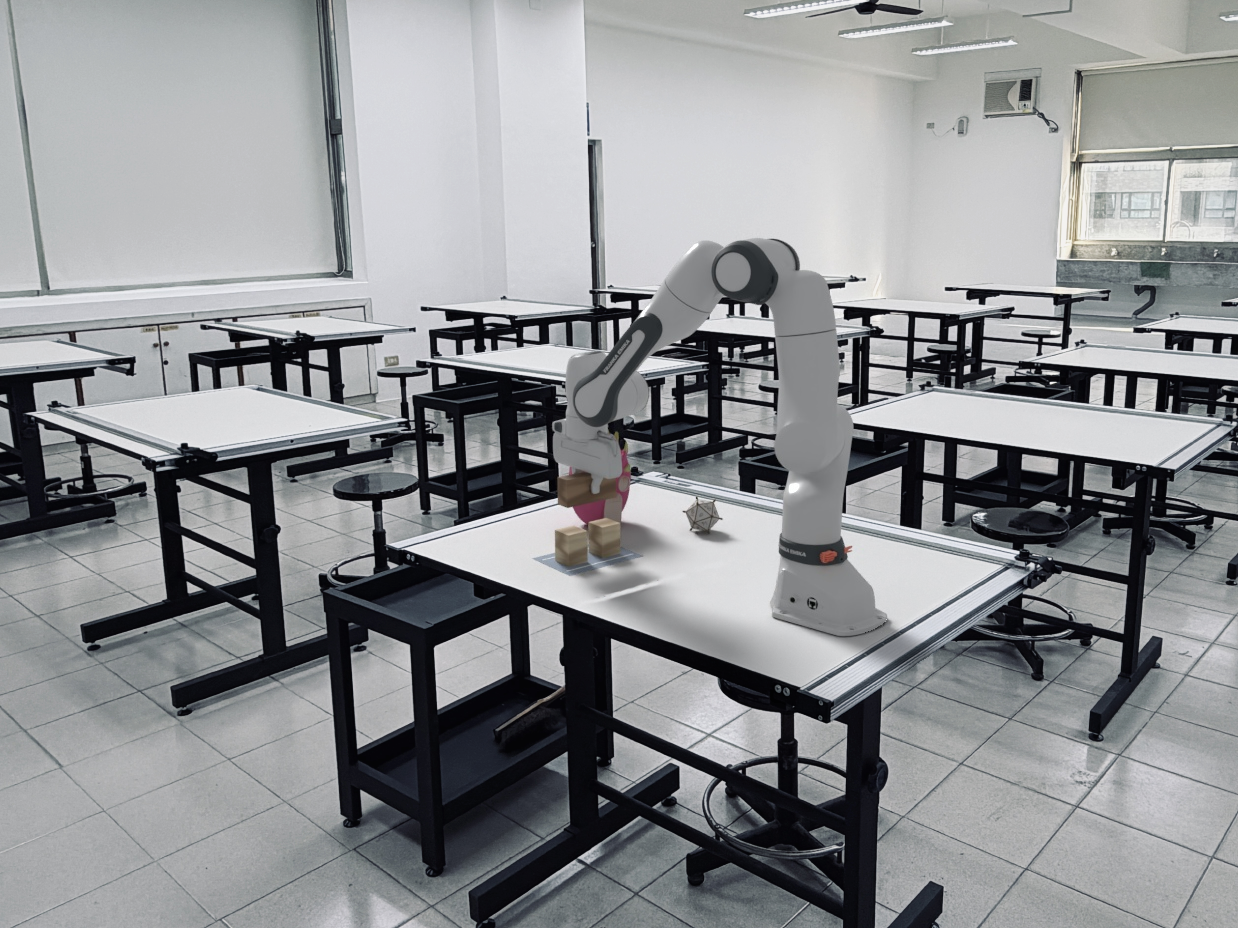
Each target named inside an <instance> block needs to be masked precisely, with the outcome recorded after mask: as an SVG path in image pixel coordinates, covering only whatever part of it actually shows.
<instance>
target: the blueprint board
mask: <svg viewBox="0 0 1238 928" xmlns="http://www.w3.org/2000/svg"><path fill="white" fill-rule="evenodd" d="M642 557H644V555H643V554H641V553H640V554H639V553H637V552H635V551H633V550H629V548H628V549H627V548H625V547H624V546H623V547H622V546H620V554H617V555H613V556H609V557H605V558H601V557H598V556H596V555H594V554H591V553H589V543H588V562H586V563H582V564H578V565H574V566H570V567H568V566H566V565H563V564H561V563H559V562H557V561H555V552H553V553H548V554H545V555H540V556H537V557H532V558H531V559H532V560H534V561H536V562H538V563H541V564H543V565H545V566H547V567H549V568H552V569H554V570H556V571H558V572H560V573H562V574H565V575H566V576H569V577H572V576H574V575H578V574H582V573H585V572H590V571H594V570H597V569H601V568H605V567H608V566H612V565H616V564H620V563H624V562H626V561H627V562H628V561H631V560H635V559H639V558H642Z"/></svg>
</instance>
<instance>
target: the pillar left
mask: <svg viewBox="0 0 1238 928" xmlns="http://www.w3.org/2000/svg"><path fill="white" fill-rule="evenodd" d="M588 544H589V540H588V530H586V529H583V528H580V527H578V526H576V525H570V526H566V527H560V528H557V529H554V553H555V561H557V562H559V563H561V564H563V565H566V566H568V567H570V566H574V565H578V564H582V563H586V562H588Z"/></svg>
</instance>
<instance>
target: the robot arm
mask: <svg viewBox="0 0 1238 928" xmlns="http://www.w3.org/2000/svg"><path fill="white" fill-rule="evenodd" d="M800 262H801V261H800V257H799V255H798V253H797V251H796V250H795V248H793V246H791V245H790V244H789V243H788V242H786V241H784V240H780V239H777V238H762V237H752V238H747V239H743V240H735V241H733V242H730V243H728V244H727V245H725V246H723V245H722V244H719V243H717V242H715V241H713V240H699V241H698V242H696V243H694V244H693V245H691V247H690V248H689V249H688V250H687V251H686V252H685V253H684V254H683V255H682V256H681V257H680V258H679V259H678V261H677V262H676V263H675V264H674V266H673V267H672V268H671V270H670V271H669V272H668V273H667V275H666V277H665V278H664V280H663V282H662V283H661V285H659V288H657V290H656V292H655V293H654V294H653V296H652V298H651V299H650V300H649V302H648V303H647V304H646V306H645V307H644V308H643V310H642V311H641V312H640V313H639V315H638V316H637V317H636V319H635V320H634V321H633V323H632V324H631V325H630V326H629V327H628V328H627V329H626V331H625V332H624V333H623V334H622V336H621V337H620V338H619V340H618V341H617V342H616V343H615V345H614V346H613V347H612V349H610V351H609V352H608V354H606V353H605V352H603V351H602V350H601V351H600V350H591V351H586V352H581V353H580V352H579V353H576V354H573V355H571V356H570V357H569V358H568V361H567V365H566V371H565V396H566V399H567V406H566V410H565V418H562V419H559V420H555V421H552V424H551V426H552V427H551V429H552V432H554V433H553V436H552V452H553V459H554V461H555V462H556V463H557V464H561V465H564V466H567V467H569V468H570V467H572V474H576V473H581V472H582V471H585V472H588V473H591V477H592V478H593V481H592V484H591V485H589V492H590V493H593V494H597V493H599V491H600V484H601V482H602V480H603V478H606V479H612V478H617V477H620V475H621V473H622V459H621V451H620V449H621V447H620V443H619V440H618V441H617V440H616V438H615V437H614V434H612V433H609V434H608V430H609V429H608V428H609V425H608V424H609V423H611V422H614V421H617V420H618V421H619V420H621V419H623V418H624V419H625V418H627V417H629V416H634V415H635V414H637V413H639V412H641V411H643V410H644V409H645V407H647V405H648V402H649V399H650V398H649V397H650V388H649V384H648V382H647V380H646V379H645V377H644V376H643V375H642V374H641V372H638V370H639V369H640V367H642V365H643V364H644V362H645V361H646V360H647V359H648V358H650V356H652V355H653V354H655V353H656V352H658V351H659V350H662V349H663V348H666V347H668V346H670V345H671V344H675V343H677V342H679V341H682V340H684V339H686V338H688V337H690V336H691V335H693V334H694V333H695V332H696V331H697V330H698V329H699V328H700V327H701V326H702V325H704V323H705V322H706V320H708V318H709V316H710V315H711V314H712V312H713V311H714V309H715V308H716V307H717V305H718V303H719V302H720V301H721V299H722V298H723V297H727V298H729V299H731V300H733V301H738V302H743V303H747V304H752V305H756V306H763V305H764V304H766V305H767V306H768V307H769V309H770V311H771V313H772V319H773V325H774V326H773V328H774V339H775V347H776V348H775V350H776V360H777V369H778V370H777V371H778V395H777V414H776V416H777V418H776V420H777V421H776V435H775V440H774V446H773V447H774V453H775V457H776V458H777V460H778V463H779V464H780V465H781V466H782V467H784V469H786V470H788V475H787V480H786V484H785V488H784V492H783V495H782V516H781V519H782V520H781V521H782V522H781V533H779V539H778V554H779V564H778V571H777V578H776V583H775V587H774V590H773V594H772V597H771V600H770V603H769V604H770V607H771V608H772V611H771V617H773V618H775V619H778V620H781V621H785V622H790V623H792V624H796V625H800V626H803V627H806V628H810V629H813V630H817V631H821V632H823V633H827V634H829V635H834V636H837V637H851V636H858V635H862V634H865V632H866V633H868V631H869V632H871V630H872V631H874V630H876V629H875V628H877V627H878V626H880V625H882V624H883V623H884V622H885V621H886V619H887V620H888V614H887V612H884V611H883V610H881V609H879V608H876V599H875V592H874V588H873V586H872V585H871V584H870V582H868V581H867V579H866V578H864V576H863V575H862V574H861V573H860V572H859V571H858V569H857V568H855V566H854V565H853V564H852V563H851V562H850V561H849V559H848V558H849V557H848V553H851V552H853V550H852V548H853V545H849V546H846V545H845V542H844V539H843V536H842V522H843V521H842V520H843V503H844V493H845V488H846V481H847V475H848V471H849V465H850V463H849V462H850V456H851V448H852V441H853V435H854V420H853V418H852V415H851V414H850V412H849V411H848V409H846V408H845V407H844V406H842V405H841V404H839V403H838V394H839V393H838V392H839V381H840V373H841V367H840V366H841V364H840V355H839V353H840V352H839V344H838V334H837V333H838V332H837V324H836V323H837V322H836V315H835V311H834V305H833V304H834V303H833V300H832V296H831V292H830V288H829V286H828V283H827V280H826V279H825V277H824V276H823V275H821V274H820V273H818V272H816V271H813V270H808V269H802V270H801V263H800ZM886 622H887V621H886ZM882 626H883V625H882ZM873 629H874V630H873ZM877 629H878V628H877Z"/></svg>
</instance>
